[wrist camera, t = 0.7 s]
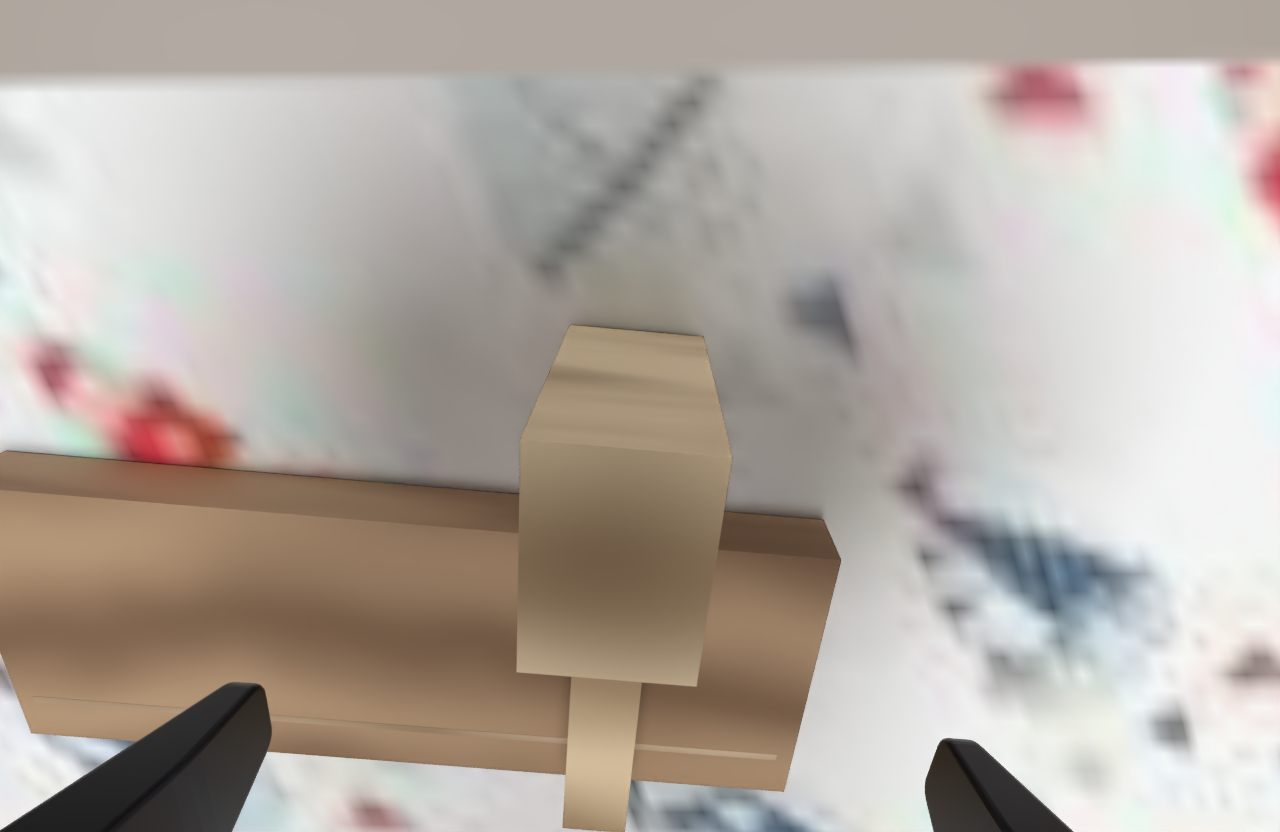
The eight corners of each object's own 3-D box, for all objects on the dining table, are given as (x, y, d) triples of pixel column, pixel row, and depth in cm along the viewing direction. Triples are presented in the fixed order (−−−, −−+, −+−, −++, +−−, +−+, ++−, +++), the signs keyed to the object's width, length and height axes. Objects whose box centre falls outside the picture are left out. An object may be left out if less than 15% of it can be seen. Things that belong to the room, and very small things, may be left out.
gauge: (654, 722, 23) (654, 955, 16) (552, 714, 23) (512, 944, 16) (703, 336, 17) (732, 457, 11) (570, 324, 17) (520, 439, 11)
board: (773, 739, 23) (784, 791, 21) (81, 684, 23) (30, 733, 21) (823, 520, 20) (841, 560, 18) (5, 450, 19) (-65, 484, 17)
